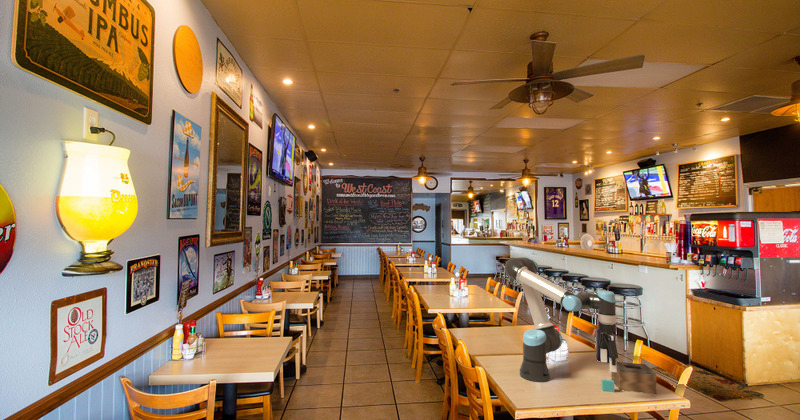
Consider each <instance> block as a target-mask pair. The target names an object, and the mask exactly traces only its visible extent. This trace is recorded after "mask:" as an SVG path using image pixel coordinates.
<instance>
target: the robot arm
mask: <svg viewBox="0 0 800 420" xmlns="http://www.w3.org/2000/svg"><path fill="white" fill-rule="evenodd" d="M538 270H539V267H538V264H537V262H536V261H535V260H534V259H533V258H532V257H526V256H523V257H522V256H521V257H511V258H510V259H509V258H508V260H507V261H506V262H505V264H504V271H505V274H506V275H507V276H508V277H509V278H511V279H513V280H514V281H516V282H517V283H518V284H520V285H521V288H522V291H523V293H524V296H525V300H526V303H527V306H528V309H529V313H530V315H531V318H532V322H533V324H534V325H533V328H532V329H527V330H525V331H524V332H523V336H522V362H521V364H520V368H519V376H520V377H521V378H523V379H525V380H527V381H532V382H538V383H542V382H543V383H544V382H548V381H549V380H550V378H551V377H550V370H549V368H548V365H547V354H548V353H551V352H555V351H557V350H559V349H560V348H561V346H562V344H563V336H562V334H561V332H560V331H559V330H557V329H556V328H555V325H554V324H553V323H552V322H551V321H550V319H549V316H548V312H547V309H546V306H545V304H544V301H543V298H542V297H543V296H542V295H545V296H546V297H548V298H550V299H552V300H553V301H555V302H558V303H559V304H561V305H562V306H563V307H564V309H565V310H566V311H568V312H578V311H581V310H584V309H594V310H598V313H597V314H598V318H597V319H598V327H599V330H600V340H599V346H600V348H601V362H600V363H602V362H606V363H605V364H608V363H607V345H608V349H609V353H610V356H609V358H610V364H609V372H610V373H611V372H617V364H616V362H617V359H619V353H618V349H617V343H616V336H614V335H613V336H612V333H616V332H617V324H616V323H617V322H616V321H617V318H618V317H617V314H616V313H617V312H616V295H615V293H614V291H609V290H599V291H597V293H589V292H583V291H576V292H573V293H572V292H570V291H569V290H567V289H566V288H564V287H561V286H560V285H558V284H556V283H554V282H553V281H550V280H548V279H546V278H544V277H542V276H541V275H539V274H538Z"/></svg>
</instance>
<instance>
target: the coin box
mask: <svg viewBox="0 0 800 420" xmlns="http://www.w3.org/2000/svg"><path fill="white" fill-rule="evenodd" d="M616 364H617V372H610V373H611V375H610V377H611V379H610V380H613V381H614V386H615V387H616V388H617V387H618V388H617V389H618V390H619V391H621V390H624V391H623V392H631V391H634V392H633V393H640V392H643V394H650V393H653V394H652V395H657V372H655V371H654V370H653V369H652V368H650V367H649V366H648V365H647V364H645V363H636V362H635V363H633V362H626V361H625V362H624V361H616Z"/></svg>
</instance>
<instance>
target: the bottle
mask: <svg viewBox="0 0 800 420" xmlns="http://www.w3.org/2000/svg"><path fill="white" fill-rule="evenodd" d="M613 333H614V332H613ZM613 333H612V336H614V335H613ZM599 340H600V330H599V326H598V327H597V328H596V329H595V355H596V356H595V359H597V360H598V361H600V362H599V363H602V362H601V348H600V346H599ZM609 356H610V353H609V349H608V345H607V363H606V362H603V364H608V363H610V358H609ZM597 360H596V361H597ZM598 361H597V362H598Z"/></svg>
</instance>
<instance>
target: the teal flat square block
mask: <svg viewBox="0 0 800 420" xmlns="http://www.w3.org/2000/svg"><path fill="white" fill-rule="evenodd" d="M601 391H602V392H607V393H609V392H610V393H615V384H614V381H613V380H611V379H607V378H601Z"/></svg>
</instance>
